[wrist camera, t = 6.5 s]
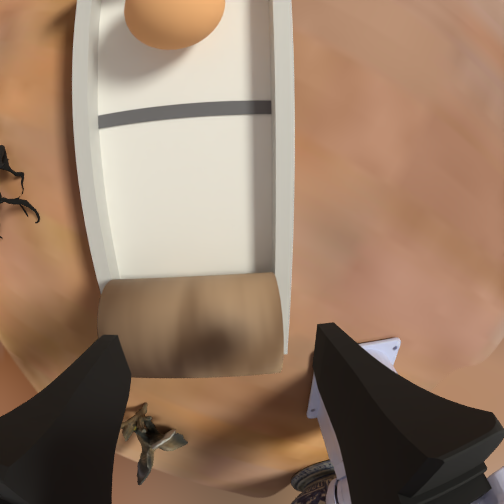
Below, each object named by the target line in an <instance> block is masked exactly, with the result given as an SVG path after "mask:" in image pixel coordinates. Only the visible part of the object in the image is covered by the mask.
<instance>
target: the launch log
mask: <svg viewBox="0 0 504 504" xmlns="http://www.w3.org/2000/svg"><path fill="white" fill-rule="evenodd" d="M97 330H98V339H99V338H100V337H101V336H102V335H118V337H119V340H120V343H121V346H122V349H123V352H124V355H125V358H126V361H127V363H128V366H129V369H130V372H131V374H132V375H131V377H136V378H211V377H233V376H249V375H262V374H273V373H280V372H281V370H282V366H283V357H284V332H283V317H282V307H281V300H280V293H279V288H278V284H277V280H276V277H275V275H274V273H273V272H265V273H247V274H229V275H209V276H188V277H165V278H140V279H113V280H110V281H109V282H108V283H107V284H106V285H105V287H104V289H103V291H102V294H101V297H100V301H99V307H98V316H97Z"/></svg>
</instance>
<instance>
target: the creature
mask: <svg viewBox="0 0 504 504" xmlns="http://www.w3.org/2000/svg"><path fill="white" fill-rule="evenodd" d="M8 160H9V159H7V155H6V151H5V147H4V146H3V145H0V169H3V170H7V171H9V172H11V173H12V174H14V175H15V176H21V178H22V180H21V184H22V188H23V180H24V173H23V172H15V171H13V170H12V169H11V168H10V166H9V164H8ZM23 190H24V188H23ZM22 194H23V192H22ZM3 202H6V203H8V204H19V205H20V206H21V207H22V205H24V206H26V207H28V208H30V209H31V210H33V211H34V212H35V213H36V215H37V217H38V221H37V222H35V223H38V222H39V221H40V216H39V214H38V212H37V211H36V209H35V208H34V207H33V206H32V205H31V204H30V203H29V202H28V201H27V200H22V199H19V198H15V199H7V198H4V197H3V198H2V196H1V193H0V204H1V203H3ZM21 204H22V205H21ZM22 209H23V210H24V208H23V207H22ZM24 212H25V213H26V211H25V210H24ZM26 215H27V217H28V214H27V213H26ZM0 238H2V237H1V236H0Z"/></svg>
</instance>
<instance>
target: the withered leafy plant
mask: <svg viewBox="0 0 504 504" xmlns="http://www.w3.org/2000/svg"><path fill="white" fill-rule="evenodd" d="M146 413H147V403H144V405H143V407H142V409H139V411H138V412H137V413H136V415H134V416H133V417H132V418H130V419H129V420H127V421H126V422H123V423H122V424H121V428H120V429H123V431H122V433H123V436H124V438H125V441H127V440H128V438H129V437H130V436H131V435H132V433H133V431H134V432H135V433H136V434H137V437H138V440H139V441H140V443H141V446H142V453H141V456H140V460H139V462H138V473H137V477H138V481H137V482H138V485H141V484H142V483H143V482H144V480H145V479H146V478H147V476H148V475H149V473H150V471H151V468H152V466H153V460H154V451H155V450H156V449H157V448H160V449H162V450H164V451H174V450H175V449H178V448H180V447H182V446H184V445H186V444H187V443H188V442H187V441H185V439H183V438H184V437H183V435H181V434H179V433H175V431H176V430H175V429H173V430H171V431H169V432H167V433H166V434H164V435H163V434H161V433H160V432H159V431H158V430H157V429H156V427H155V425H154V424H153V423H152V422H151V419H152V417H151V416H147V417H146V416H145V414H146ZM144 424H145V425H146V428H144Z"/></svg>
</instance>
